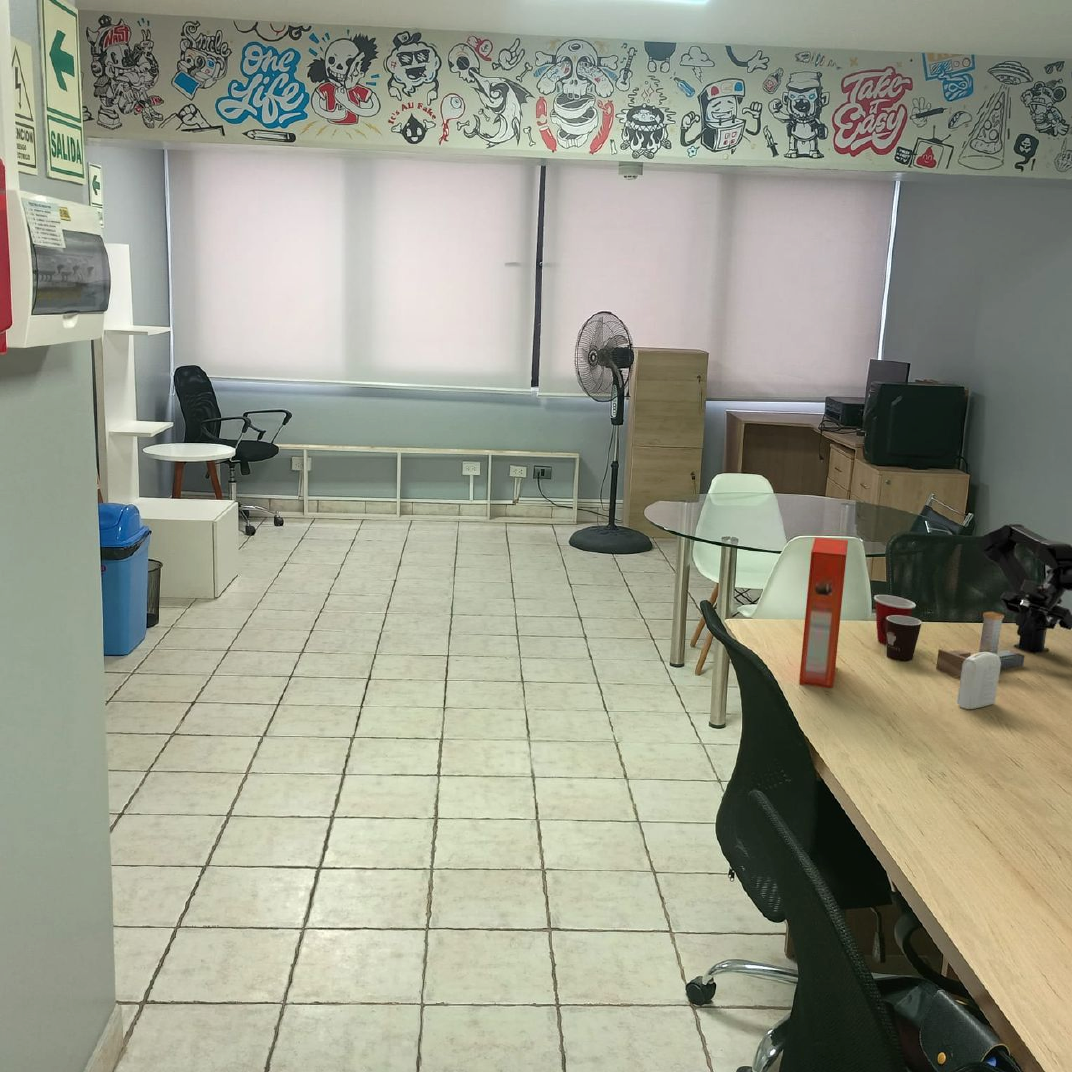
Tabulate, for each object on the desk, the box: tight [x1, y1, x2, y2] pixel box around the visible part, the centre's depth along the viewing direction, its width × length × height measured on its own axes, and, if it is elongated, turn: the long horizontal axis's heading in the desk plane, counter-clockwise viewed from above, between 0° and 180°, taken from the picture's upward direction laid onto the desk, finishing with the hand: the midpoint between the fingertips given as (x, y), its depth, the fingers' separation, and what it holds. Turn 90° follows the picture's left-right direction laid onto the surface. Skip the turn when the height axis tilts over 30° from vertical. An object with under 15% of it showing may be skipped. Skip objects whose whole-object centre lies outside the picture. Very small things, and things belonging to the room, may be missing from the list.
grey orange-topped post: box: [978, 611, 1018, 658], centre depth 276 cm, size 13×3×13 cm, turn 120°
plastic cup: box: [873, 594, 917, 646], centre depth 292 cm, size 11×11×12 cm
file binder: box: [798, 537, 849, 689], centre depth 261 cm, size 8×17×32 cm, turn 163°
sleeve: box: [999, 649, 1025, 671], centre depth 278 cm, size 12×5×3 cm, turn 120°
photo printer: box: [956, 652, 1001, 710], centre depth 247 cm, size 10×4×12 cm, turn 123°
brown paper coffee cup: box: [880, 615, 923, 663], centre depth 281 cm, size 12×9×10 cm
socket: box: [935, 648, 972, 679], centre depth 271 cm, size 9×9×5 cm
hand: (1018, 634), depth 279 cm, fingers closed
